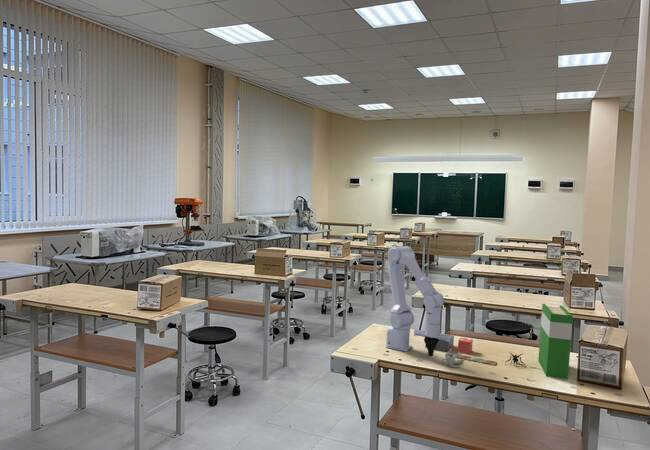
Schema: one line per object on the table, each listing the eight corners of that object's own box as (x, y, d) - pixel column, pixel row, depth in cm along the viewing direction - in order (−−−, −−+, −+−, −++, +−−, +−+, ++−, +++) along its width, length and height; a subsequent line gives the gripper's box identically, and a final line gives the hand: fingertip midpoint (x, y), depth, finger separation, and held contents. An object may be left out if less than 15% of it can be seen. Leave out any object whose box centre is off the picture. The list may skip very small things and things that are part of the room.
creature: (526, 372, 179) (525, 362, 186) (527, 360, 177) (526, 350, 184) (504, 369, 182) (504, 358, 189) (505, 357, 180) (505, 347, 187)
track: (445, 355, 191) (445, 354, 191) (447, 353, 194) (447, 352, 194) (495, 365, 182) (495, 364, 182) (496, 362, 185) (496, 361, 185)
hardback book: (538, 360, 190) (542, 303, 188) (557, 363, 188) (562, 305, 186) (546, 376, 173) (550, 313, 171) (567, 379, 171) (572, 316, 169)
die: (457, 351, 197) (458, 339, 196) (460, 348, 201) (460, 337, 201) (469, 354, 194) (470, 342, 194) (471, 350, 199) (472, 339, 198)
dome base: (425, 347, 201) (425, 337, 201) (431, 341, 210) (431, 331, 209) (448, 351, 196) (448, 341, 196) (453, 345, 205) (454, 335, 205)
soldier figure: (469, 366, 182) (458, 365, 173) (459, 372, 184) (448, 371, 175) (458, 349, 187) (447, 346, 177) (448, 355, 188) (437, 353, 179)
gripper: (452, 323, 186) (450, 356, 187) (418, 317, 193) (416, 349, 193) (448, 327, 180) (446, 361, 180) (413, 321, 186) (411, 354, 187)
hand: (430, 355), depth 187 cm, fingers closed
